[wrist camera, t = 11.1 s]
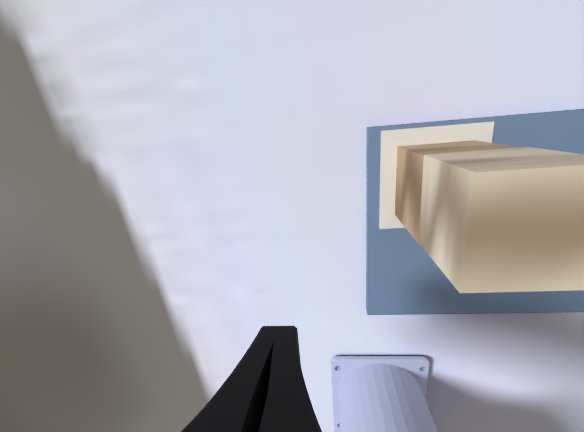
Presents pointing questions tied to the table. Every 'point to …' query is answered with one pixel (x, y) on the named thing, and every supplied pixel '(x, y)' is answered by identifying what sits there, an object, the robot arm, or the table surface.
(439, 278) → the board
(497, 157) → the maple block
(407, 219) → the oak block
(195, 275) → the table surface
